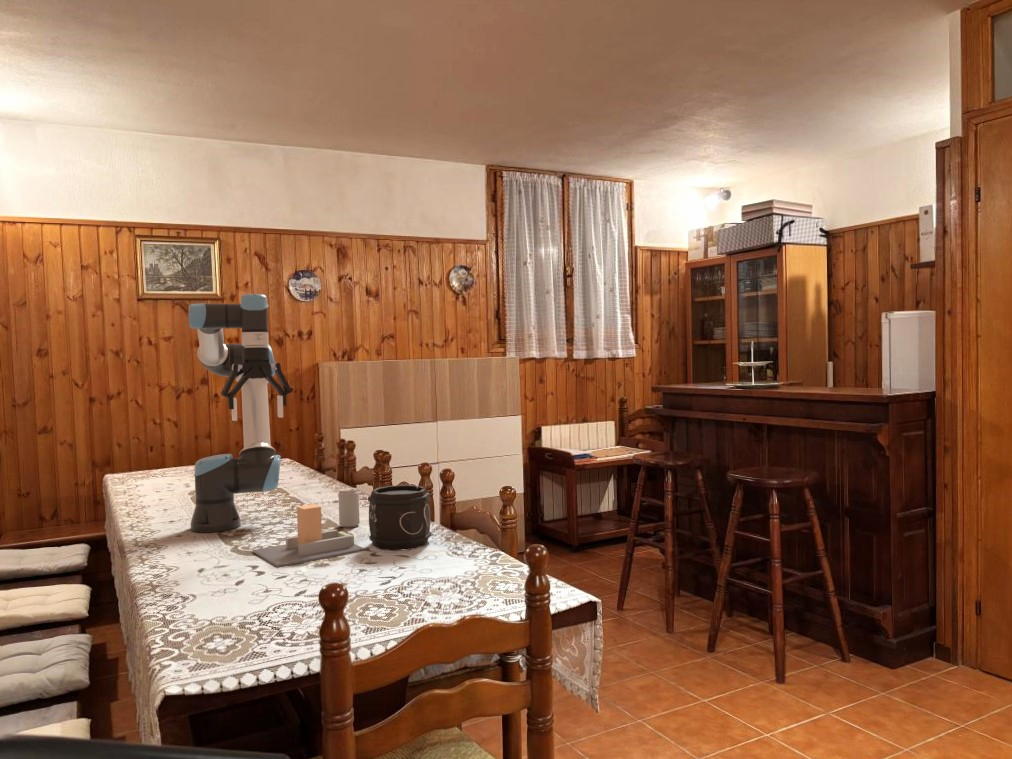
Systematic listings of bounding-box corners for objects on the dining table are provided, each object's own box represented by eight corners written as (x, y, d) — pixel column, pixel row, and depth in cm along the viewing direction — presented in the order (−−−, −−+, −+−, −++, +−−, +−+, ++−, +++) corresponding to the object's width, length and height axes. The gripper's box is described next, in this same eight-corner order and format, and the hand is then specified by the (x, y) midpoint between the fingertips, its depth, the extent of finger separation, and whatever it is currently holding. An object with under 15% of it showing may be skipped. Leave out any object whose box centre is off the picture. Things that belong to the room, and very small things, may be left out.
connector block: (298, 548, 213) (296, 506, 212) (315, 545, 216) (313, 504, 215) (305, 552, 209) (303, 509, 208) (322, 549, 212) (320, 506, 211)
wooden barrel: (443, 538, 224) (442, 485, 223) (411, 553, 207) (409, 496, 207) (392, 533, 231) (391, 482, 231) (357, 547, 215) (355, 493, 215)
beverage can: (355, 528, 239) (353, 490, 239) (336, 528, 241) (334, 490, 240) (362, 524, 246) (361, 487, 245) (344, 523, 247) (343, 487, 246)
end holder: (252, 552, 213) (252, 539, 213) (335, 537, 228) (335, 525, 227) (277, 567, 197) (276, 553, 196) (365, 550, 211) (364, 537, 211)
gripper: (215, 347, 212) (218, 422, 213) (301, 346, 227) (303, 416, 228) (208, 347, 218) (210, 421, 219) (292, 346, 233) (294, 415, 234)
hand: (258, 419), depth 223 cm, fingers open, 13 cm apart
